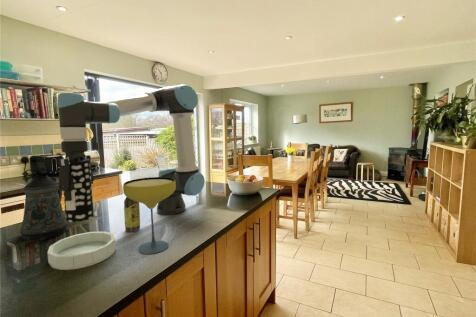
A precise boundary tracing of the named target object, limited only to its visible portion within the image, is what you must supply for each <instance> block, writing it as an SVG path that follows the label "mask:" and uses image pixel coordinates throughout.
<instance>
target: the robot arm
mask: <svg viewBox="0 0 476 317" xmlns="http://www.w3.org/2000/svg"><path fill="white" fill-rule="evenodd" d="M198 101H199V99H198V95H197V92H196V91H195V89H194V88H193V87H192V86H190V85H189V84H178V85H177V84H176V85H171V86H165V87H162V88H161V87H160V88H158V89H156V90H152V91H147V92H146V91H145V93H144V94H142V95H134V96H129V97H122V98H116V99H110V100H109V99H108V100H103V101H89V100H86V99H85V97H84V94H82V93H78V92H77V93H76V92H61V93H59V94H58V95H57V110H58V111H57V113H58V119H59V120H58V121H59V131H60V132H59V133H60V140H62V141H61V142H60V147H61V152H62V153H64V154H65V156H64V158H59V159H58V165H59V172H58V183H59V190H60V191H62V192H63V191H64V192H63V195H64V194H65V201H66V210H76V205H75V192H74V190H72V189H73V183H74V181H73V174H72V175H69V169H70V166H69V164H70V162H78V161H83V160H90V170H91V184H92V185H93V184H94V180H95V179H94V173H93V168H92V167H93V166H92V162H91V157H92V156H91V155H90V154H89V155H88V154H87V155H86V154H85V153H86V152H88V151H89V147H88V141H87V140H86V139H88V134H87V125H88V124H89V125H90V124H91V125H92V124H116V123H118V122H119V120H120V118H121V117H124V116H130V115H135V114H141V113H143V112H151V113H153V112H169V116H170V117H172V120H173V130H174V132H173V133H174V139H175V140H174V141H175V148H176V149H175V150H176V151H175V152H176V159H177V167H170V168H164V169H160V170H159V171H158V177H167V178H173V179H174V180H175V182H176V189H175V191H174V192H173V193H172V194H171V195H170V196H169V197H167V198H165V199H163V200H162V201H160V202H159V203H157V205H156V212H157V214H160V215H176V214H179V213H183V212H185V211H186V203H185V201H184V198H183V195H185V196H188V197H189V196H192V197H194V196H197V195H199V194H200V193H201V192H202V190H203V189H204V187H205V183H206V182H205V176H204V175H203V174H202V173H201V172H200V170H199V169H200V168H199V166H198V165H197V164H196V158H195V147H194V146H195V145H194V137H193V135H194V134H193V122H192V116H193V115H194V113H195V111H194V109H196V108H197V105H198V103H199V102H198Z"/></svg>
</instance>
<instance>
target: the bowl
mask: <svg viewBox="0 0 476 317" xmlns="http://www.w3.org/2000/svg"><path fill="white" fill-rule="evenodd" d="M116 246H117V244H116V237H115V233H112V232H108V231H87V232H83V233H77V234H74V235H70V236H68V237H65V238H62V239H59V240H57V241H56V242H54V243H53V244H51V245H50V246H49V247H48V250H47V253H46V254H47V261H48V264H49V266H50V267H51V268H52V269H54V270H58V271H59V270H60V271H71V270H78V269H83V268H87V267H91V266H93V265H97V264H98V263H102V262H103V261H105V260H107V259H108V258H110V257H111V256H113V255H114V254H115V251H116V248H117V247H116Z"/></svg>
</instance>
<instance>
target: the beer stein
mask: <svg viewBox="0 0 476 317" xmlns="http://www.w3.org/2000/svg"><path fill="white" fill-rule="evenodd" d="M22 191H23V193H24V194H25V200H24V201H25V202H24V211H23V219H22V222H21V226H20V228H19V229H20V230H19V233H20V234H21V235H20V236H21V238H22V239H23V240H24V241H41V240H42V241H43V240H47V239H50V238H54V237H57V236H59V235H61V234H64V233H65V232H66V231H67V230H68V228H67V227H68V223H69V222H67V221H66V215H65V212H64V210H63V206H62V205H63V204H62V199H63V191H60V190H59V182H57V179H56V178H55V177H52V176H49V175H48V174H40V175H36V176H35V175H34V178H33V179H32V180H31V181H29V182H28V183H27V184H25V186H24V187H23V188H22ZM46 238H47V239H46Z"/></svg>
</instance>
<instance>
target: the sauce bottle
mask: <svg viewBox="0 0 476 317" xmlns="http://www.w3.org/2000/svg"><path fill="white" fill-rule="evenodd" d="M123 205H124V206H123V210H124V214H123V215H124V226H125V232H129V233H131V232H136V231H138V230H140V228H141V216H140V215H141V213H140V210H141V208H140V202H137V201H134V200H131V199H129V198H128V197H127V196H125V199H124V202H123Z"/></svg>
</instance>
